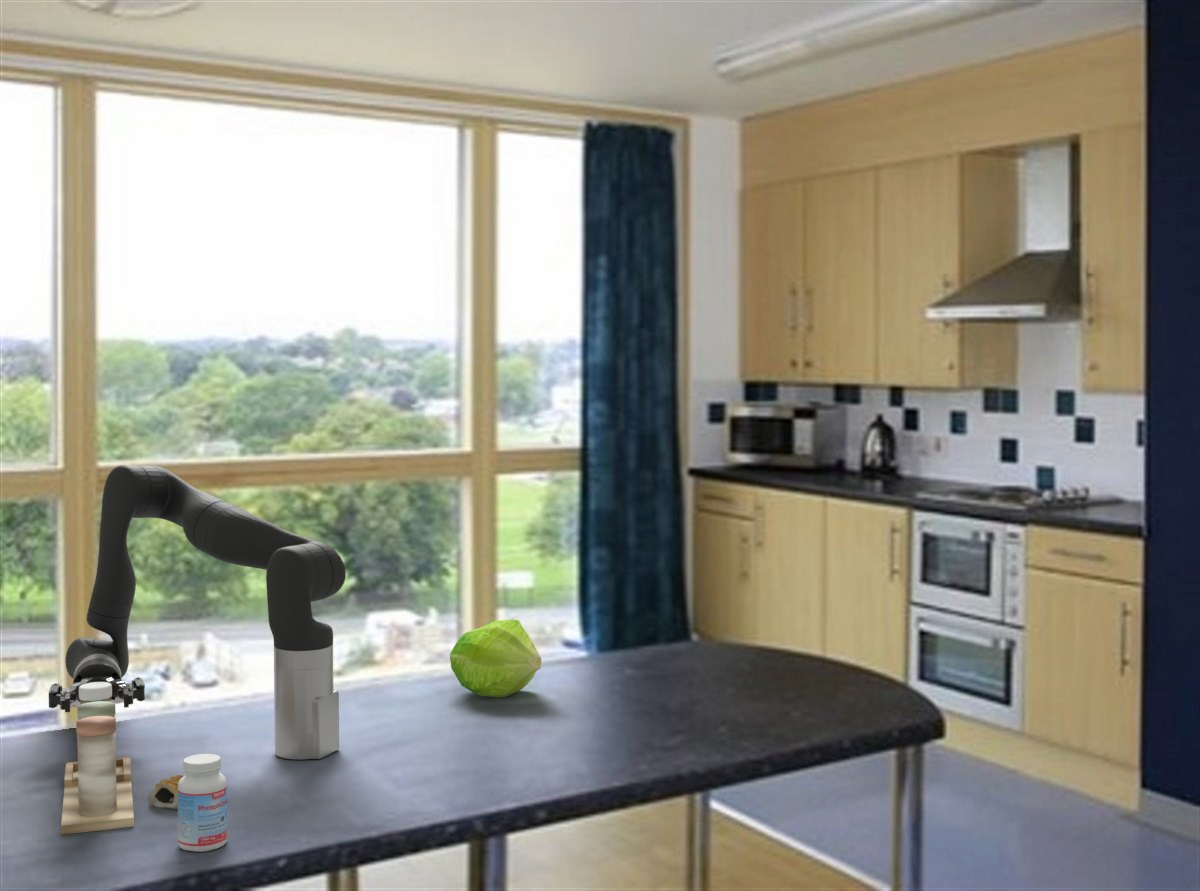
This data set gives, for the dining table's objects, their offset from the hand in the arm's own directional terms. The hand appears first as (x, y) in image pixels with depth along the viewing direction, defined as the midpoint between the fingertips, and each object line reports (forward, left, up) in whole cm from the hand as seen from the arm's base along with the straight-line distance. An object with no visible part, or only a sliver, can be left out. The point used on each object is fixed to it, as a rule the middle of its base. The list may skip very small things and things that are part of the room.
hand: (97, 703), depth 205 cm
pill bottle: (-37, +24, -9) cm, 45 cm away
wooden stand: (-13, +15, -9) cm, 21 cm away
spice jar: (-7, +8, -8) cm, 14 cm away
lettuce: (-41, -60, -9) cm, 73 cm away
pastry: (-24, +11, -10) cm, 28 cm away
